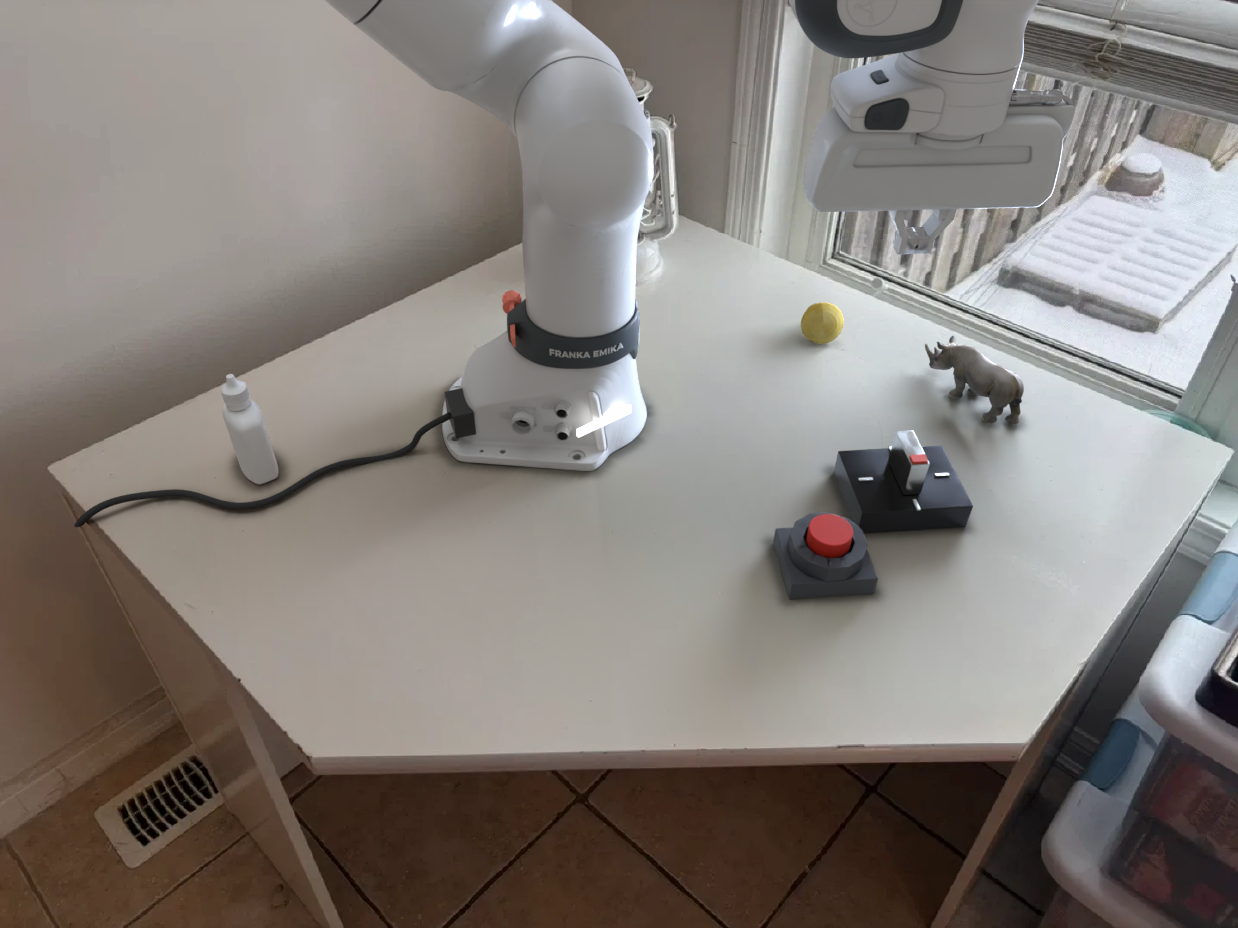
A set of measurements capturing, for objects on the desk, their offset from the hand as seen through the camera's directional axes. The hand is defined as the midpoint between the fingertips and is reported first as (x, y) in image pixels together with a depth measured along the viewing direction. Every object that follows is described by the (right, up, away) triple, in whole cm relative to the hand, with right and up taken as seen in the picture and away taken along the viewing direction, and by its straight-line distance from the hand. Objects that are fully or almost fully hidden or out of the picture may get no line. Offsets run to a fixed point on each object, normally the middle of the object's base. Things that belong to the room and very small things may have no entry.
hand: (911, 250), depth 84 cm
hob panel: (+3, -22, +15) cm, 27 cm away
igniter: (-6, -28, +8) cm, 30 cm away
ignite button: (-6, -26, +6) cm, 27 cm away
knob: (-1, -3, +36) cm, 36 cm away
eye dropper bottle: (-63, -19, +17) cm, 68 cm away
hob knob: (+3, -20, +13) cm, 24 cm away
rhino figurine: (+15, -11, +28) cm, 33 cm away
